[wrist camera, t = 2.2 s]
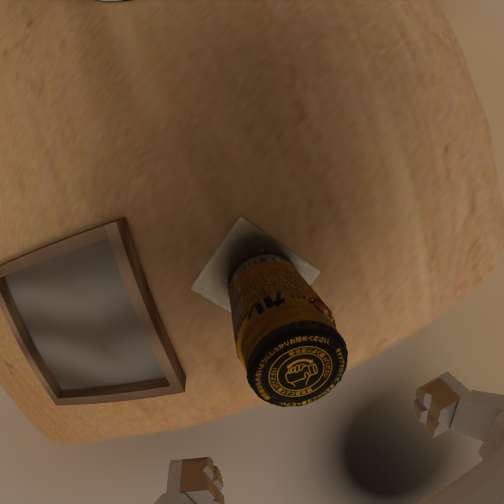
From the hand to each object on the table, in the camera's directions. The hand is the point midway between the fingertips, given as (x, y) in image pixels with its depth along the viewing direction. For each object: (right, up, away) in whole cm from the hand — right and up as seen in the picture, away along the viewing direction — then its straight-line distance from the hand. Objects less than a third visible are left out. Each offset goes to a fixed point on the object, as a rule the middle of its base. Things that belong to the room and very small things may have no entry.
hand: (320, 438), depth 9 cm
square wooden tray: (-18, 0, +15) cm, 24 cm away
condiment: (-2, +4, +16) cm, 17 cm away
